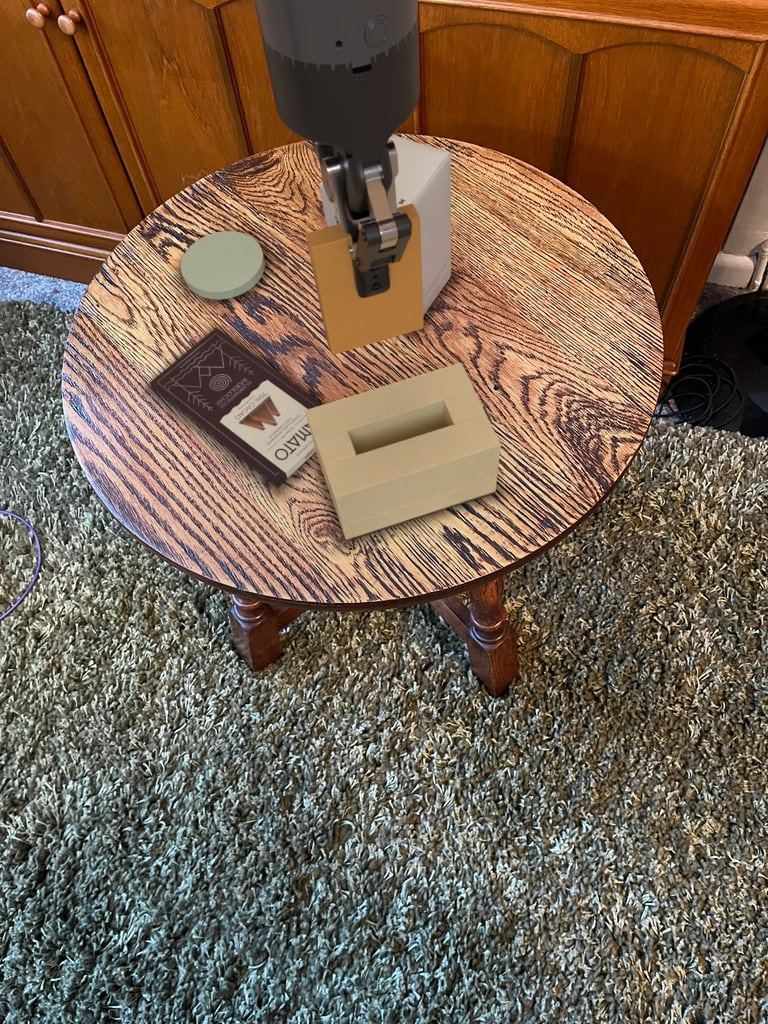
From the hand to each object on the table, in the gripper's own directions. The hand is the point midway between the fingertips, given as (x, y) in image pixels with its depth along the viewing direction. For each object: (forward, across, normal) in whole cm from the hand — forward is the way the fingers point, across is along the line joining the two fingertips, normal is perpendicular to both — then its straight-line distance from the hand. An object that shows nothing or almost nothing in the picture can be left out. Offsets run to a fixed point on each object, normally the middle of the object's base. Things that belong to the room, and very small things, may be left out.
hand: (369, 280), depth 51 cm
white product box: (+23, -20, +7) cm, 31 cm away
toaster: (+23, +2, +1) cm, 23 cm away
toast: (+5, 0, 0) cm, 5 cm away
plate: (+23, -30, -9) cm, 39 cm away
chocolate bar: (+23, -11, -11) cm, 28 cm away
